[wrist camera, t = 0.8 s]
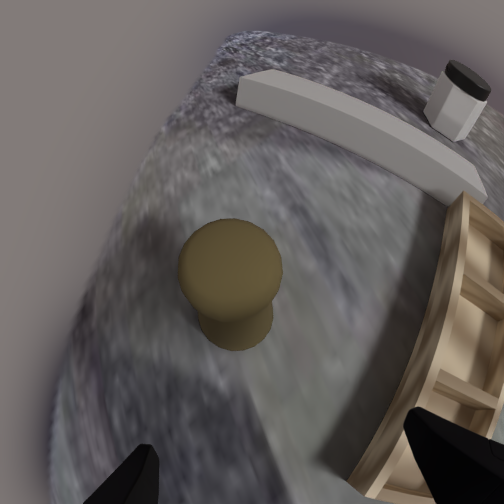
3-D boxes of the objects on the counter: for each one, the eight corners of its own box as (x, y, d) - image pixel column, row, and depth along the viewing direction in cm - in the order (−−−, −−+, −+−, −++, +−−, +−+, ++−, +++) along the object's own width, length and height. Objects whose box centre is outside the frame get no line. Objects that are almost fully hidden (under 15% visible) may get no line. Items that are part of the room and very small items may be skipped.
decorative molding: (267, 95, 41) (234, 109, 35) (272, 69, 37) (239, 77, 31) (459, 189, 34) (468, 224, 28) (474, 165, 30) (487, 197, 24)
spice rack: (431, 501, 14) (454, 511, 10) (346, 481, 16) (364, 496, 12) (503, 252, 26) (521, 237, 22) (446, 209, 28) (463, 190, 24)
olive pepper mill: (288, 311, 23) (322, 250, 13) (238, 366, 21) (230, 352, 11) (234, 265, 24) (227, 180, 14) (183, 315, 22) (136, 257, 12)
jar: (439, 109, 39) (462, 61, 28) (469, 138, 36) (498, 91, 25) (414, 112, 37) (439, 56, 26) (448, 144, 34) (480, 89, 23)
